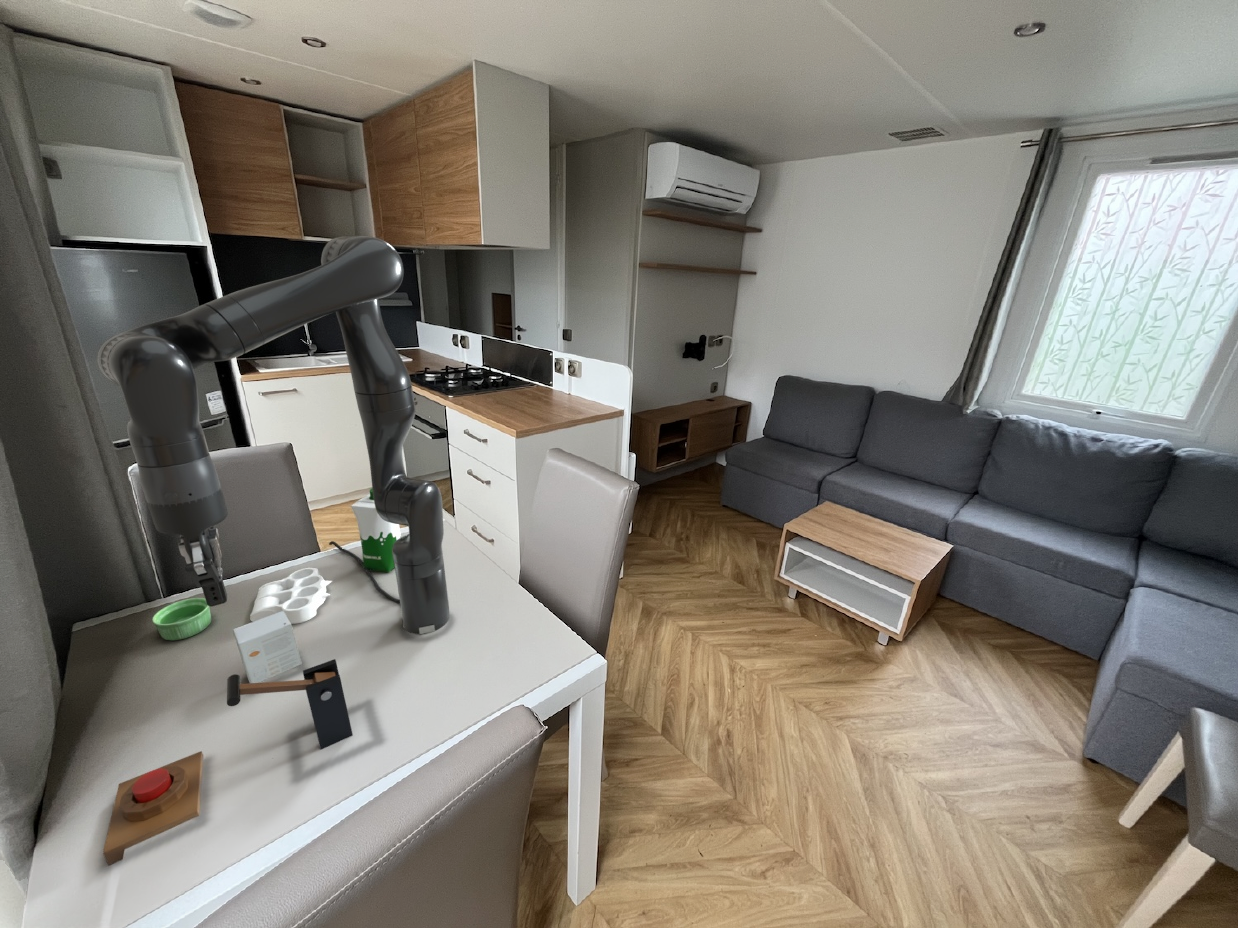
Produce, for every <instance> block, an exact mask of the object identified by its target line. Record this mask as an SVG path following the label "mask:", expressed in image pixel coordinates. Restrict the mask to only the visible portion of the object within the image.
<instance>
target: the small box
mask: <svg viewBox="0 0 1238 928" xmlns="http://www.w3.org/2000/svg"><path fill="white" fill-rule="evenodd" d="M232 632H233V635H234V639H235V642H236V646H237V649H238V652H239V655H240V659H241V662H242V665H243V669H244V672H245V674H246V677H247V680H248V682H249V683H263V682H264V681H267V680H269V679H270V678H273V677H275V676H278V675H280V674H282V673H284V672H287V671H290V670H292V669H294V668H296V667H298V666H301V665H303V662H302V659H301V655H300V652H299V648H298V644H297V640H296V636H295V632H294V628H293V624H291V623H290V621H289V619H288V618H287V616H286V614H285V612H284V611H281V612H278V613H276V614H273V615H270V616H267V617H265V618H262V619H259V620H257V621H254V622H252V621H251V622H249V623H246V624H244V625H241V626H238V627H235V628H233V629H232Z"/></svg>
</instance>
